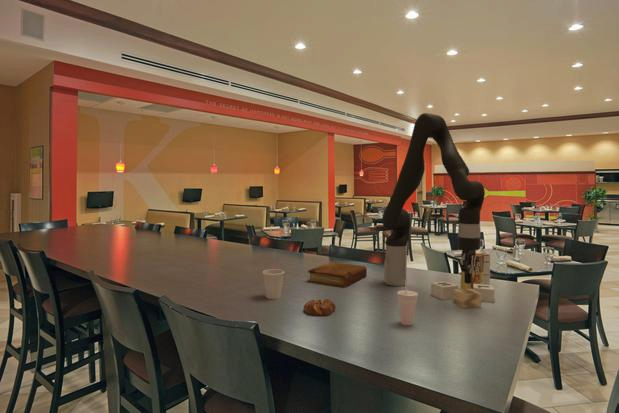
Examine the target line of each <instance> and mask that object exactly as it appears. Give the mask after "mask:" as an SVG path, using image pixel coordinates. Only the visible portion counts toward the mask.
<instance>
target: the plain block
mask: <svg viewBox="0 0 619 413" xmlns="http://www.w3.org/2000/svg"><path fill="white" fill-rule="evenodd" d="M481 298H482V294H481V293H479V292H477V291H475V290H473V289H460V288H458V289H454V297H453V303H454V304H456V305H457V306H460V307H461V308H468V309H469V308H482V301H481Z"/></svg>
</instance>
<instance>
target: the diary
mask: <svg viewBox="0 0 619 413" xmlns="http://www.w3.org/2000/svg"><path fill="white" fill-rule="evenodd" d="M307 272H308V274H309V280H307V282H308V283H313V284H320V285H325V286H332V287H340V288H344V289H345V288H347V287H349V286H351V285H354V284H355V283H357V282H358V281H360V280H362V278H363V279H364V278H366V277H367V274H368V273H367V267H366V265H358V264H357V265H356V264H353V263H352V264H350V263H343V262H341V263H340V262H334V261H331V262H328V263H325V264H323V265H320V266H317V267H314V268H312V269H308V270H307Z"/></svg>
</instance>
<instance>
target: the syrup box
mask: <svg viewBox="0 0 619 413" xmlns="http://www.w3.org/2000/svg"><path fill="white" fill-rule="evenodd" d="M476 252H477V253H482V254H484V266H483V285H491V253H490V252H488V251H486V250H476Z"/></svg>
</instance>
